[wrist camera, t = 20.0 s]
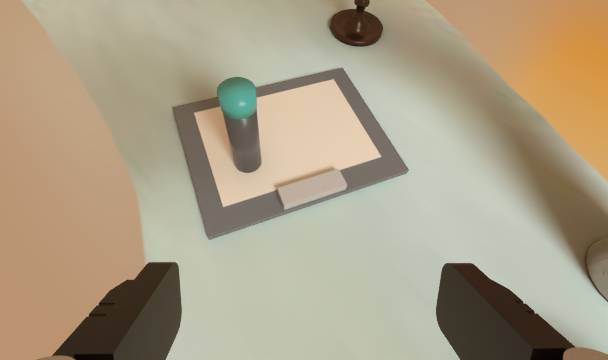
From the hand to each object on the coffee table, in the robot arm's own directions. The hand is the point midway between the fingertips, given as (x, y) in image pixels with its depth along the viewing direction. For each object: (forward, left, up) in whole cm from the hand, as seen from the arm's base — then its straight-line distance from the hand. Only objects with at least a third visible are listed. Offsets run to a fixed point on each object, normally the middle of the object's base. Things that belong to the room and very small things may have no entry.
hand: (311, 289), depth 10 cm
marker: (-3, -22, -25) cm, 33 cm away
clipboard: (-9, -24, -26) cm, 36 cm away
